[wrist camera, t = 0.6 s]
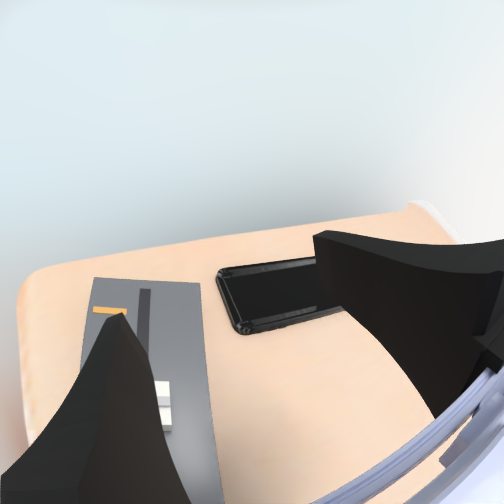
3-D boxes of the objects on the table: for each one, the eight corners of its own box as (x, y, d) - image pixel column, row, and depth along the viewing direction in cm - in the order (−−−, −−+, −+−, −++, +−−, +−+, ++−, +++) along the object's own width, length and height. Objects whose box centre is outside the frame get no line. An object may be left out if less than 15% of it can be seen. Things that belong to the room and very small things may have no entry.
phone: (214, 269, 32) (328, 254, 38) (212, 275, 32) (324, 260, 39) (239, 334, 27) (360, 304, 33) (236, 340, 28) (355, 309, 34)
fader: (171, 431, 18) (171, 423, 15) (115, 428, 16) (107, 420, 14) (169, 392, 20) (169, 379, 17) (115, 389, 18) (107, 375, 16)
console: (224, 531, 15) (230, 536, 13) (92, 527, 12) (83, 532, 10) (197, 298, 29) (200, 282, 28) (98, 293, 27) (93, 276, 25)
